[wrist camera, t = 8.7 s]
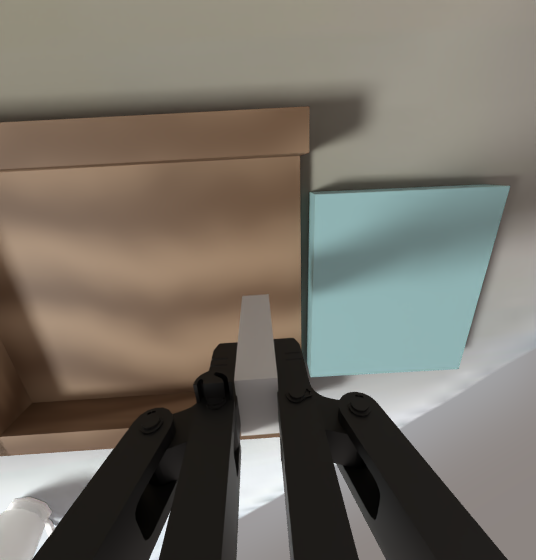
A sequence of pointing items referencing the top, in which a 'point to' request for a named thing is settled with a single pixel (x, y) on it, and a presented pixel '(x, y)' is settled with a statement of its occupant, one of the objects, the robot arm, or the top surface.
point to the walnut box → (137, 262)
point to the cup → (23, 528)
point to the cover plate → (396, 276)
